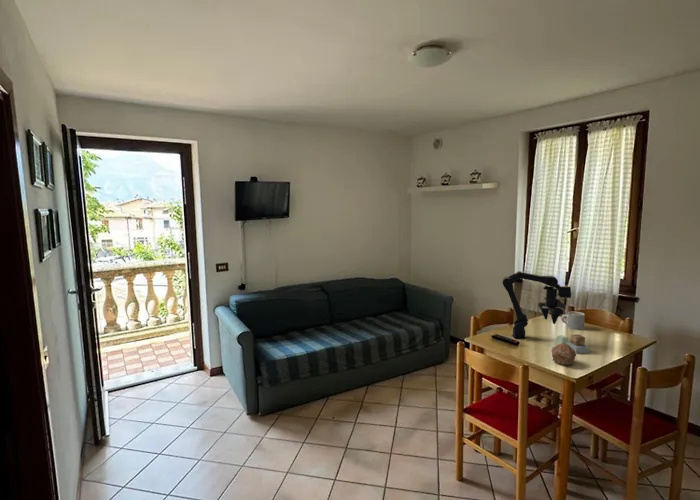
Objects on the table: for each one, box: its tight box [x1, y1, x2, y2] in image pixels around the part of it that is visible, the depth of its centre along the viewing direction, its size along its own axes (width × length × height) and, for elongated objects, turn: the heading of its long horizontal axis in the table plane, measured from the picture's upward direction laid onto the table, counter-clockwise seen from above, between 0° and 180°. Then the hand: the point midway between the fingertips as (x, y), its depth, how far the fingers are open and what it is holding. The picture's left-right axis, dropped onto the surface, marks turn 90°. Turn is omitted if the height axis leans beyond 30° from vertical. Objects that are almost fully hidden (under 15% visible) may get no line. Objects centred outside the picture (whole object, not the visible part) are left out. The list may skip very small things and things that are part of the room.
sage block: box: [556, 334, 569, 344], centre depth 230 cm, size 4×4×4 cm
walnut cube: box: [570, 334, 586, 346], centre depth 217 cm, size 5×5×5 cm
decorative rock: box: [550, 343, 577, 366], centre depth 200 cm, size 13×11×10 cm
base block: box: [566, 341, 590, 355], centre depth 217 cm, size 8×8×4 cm
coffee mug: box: [561, 311, 586, 331], centre depth 260 cm, size 13×10×10 cm
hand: (549, 321), depth 234 cm, fingers open, 9 cm apart
